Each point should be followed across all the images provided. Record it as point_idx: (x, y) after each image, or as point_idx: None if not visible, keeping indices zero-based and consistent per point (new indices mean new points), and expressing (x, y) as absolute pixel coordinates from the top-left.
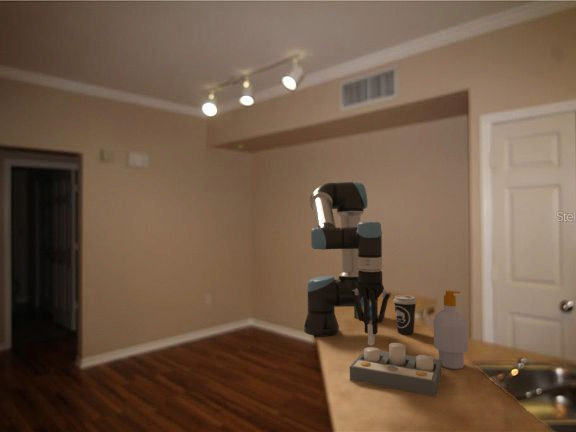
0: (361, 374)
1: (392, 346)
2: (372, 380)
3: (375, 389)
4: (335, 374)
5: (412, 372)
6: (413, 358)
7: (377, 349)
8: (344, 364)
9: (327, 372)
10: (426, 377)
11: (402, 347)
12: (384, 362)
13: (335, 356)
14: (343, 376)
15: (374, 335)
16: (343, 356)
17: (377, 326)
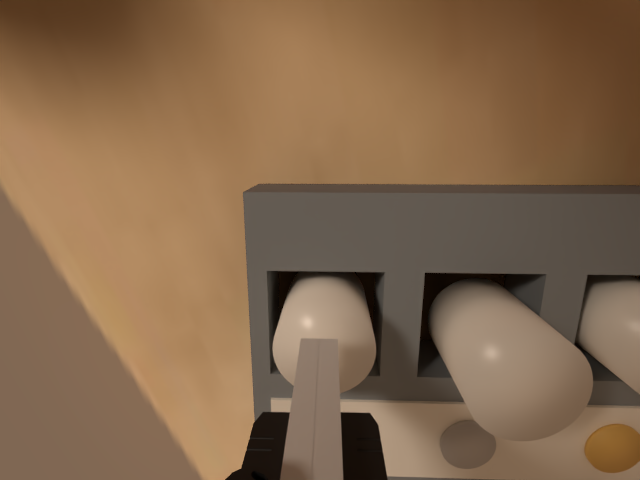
0: None
1: (495, 423)
2: None
3: None
4: (191, 400)
5: (568, 443)
6: (572, 238)
7: (358, 328)
8: (176, 281)
9: (151, 395)
10: (635, 472)
11: (571, 416)
12: (409, 367)
13: (81, 193)
14: (230, 405)
15: (338, 379)
16: (120, 173)
17: (386, 474)
